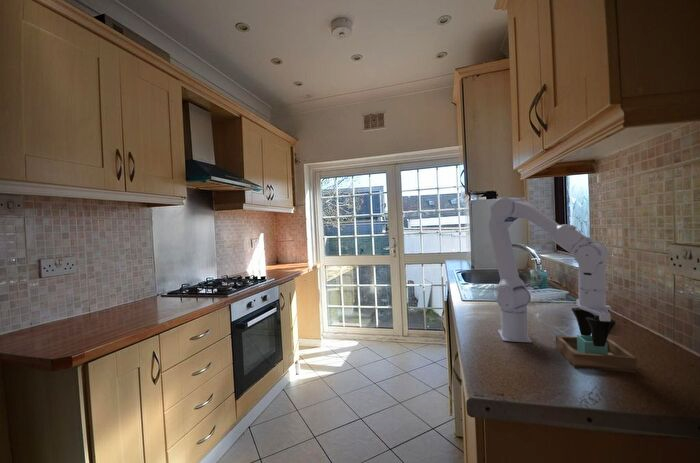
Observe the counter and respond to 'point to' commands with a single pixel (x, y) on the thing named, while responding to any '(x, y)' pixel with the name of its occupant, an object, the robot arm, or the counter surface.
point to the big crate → (597, 356)
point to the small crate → (590, 346)
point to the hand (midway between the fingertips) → (592, 340)
